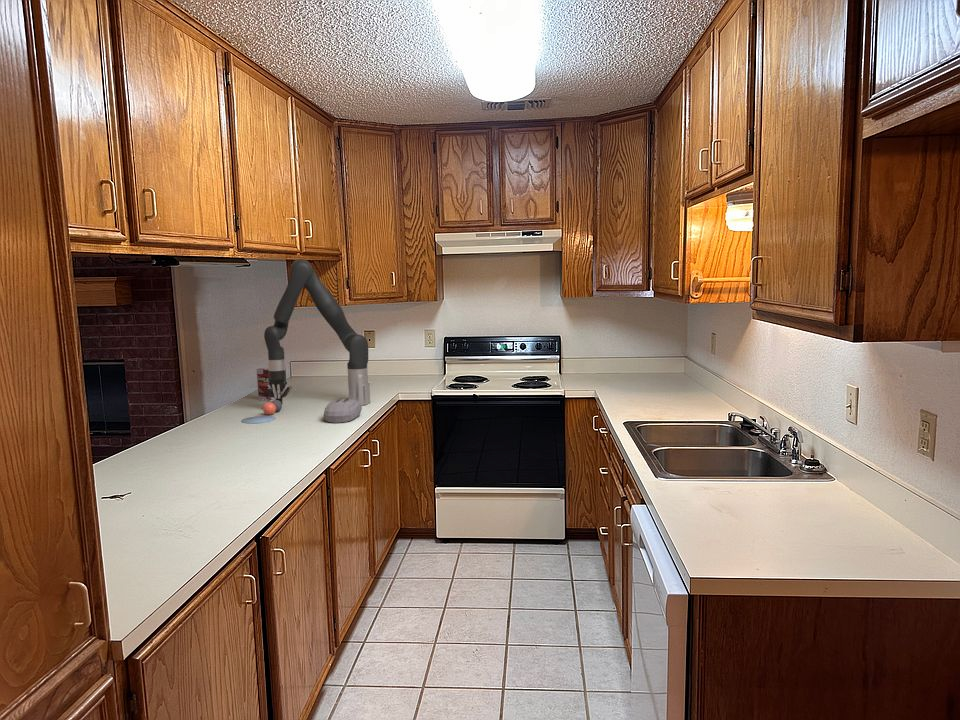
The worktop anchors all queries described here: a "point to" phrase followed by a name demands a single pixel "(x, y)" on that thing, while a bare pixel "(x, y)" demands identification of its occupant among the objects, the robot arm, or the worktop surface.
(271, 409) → the red ball
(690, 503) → the worktop surface
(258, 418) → the blue flat disc
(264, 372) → the supplement box
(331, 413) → the soft grey pack
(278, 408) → the grey smooth round ball
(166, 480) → the worktop surface
